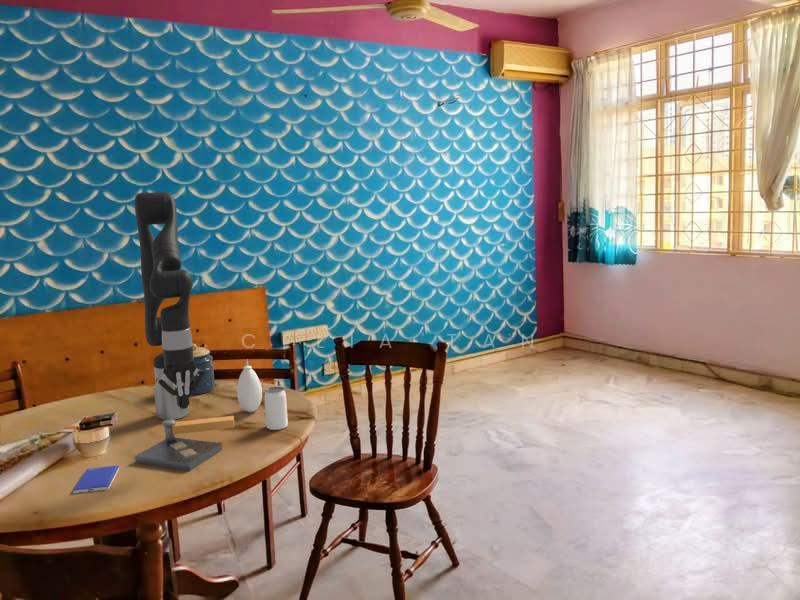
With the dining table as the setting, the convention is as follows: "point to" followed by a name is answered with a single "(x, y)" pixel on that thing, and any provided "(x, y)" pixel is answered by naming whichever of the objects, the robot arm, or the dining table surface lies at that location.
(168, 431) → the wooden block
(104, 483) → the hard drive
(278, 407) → the can
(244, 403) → the sauce bottle
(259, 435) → the dining table surface
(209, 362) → the canister
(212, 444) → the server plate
